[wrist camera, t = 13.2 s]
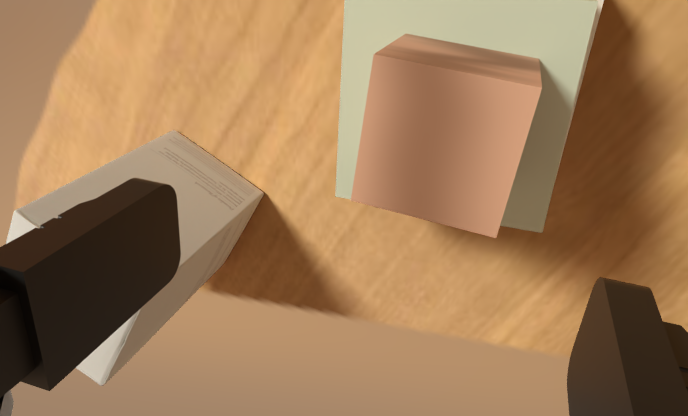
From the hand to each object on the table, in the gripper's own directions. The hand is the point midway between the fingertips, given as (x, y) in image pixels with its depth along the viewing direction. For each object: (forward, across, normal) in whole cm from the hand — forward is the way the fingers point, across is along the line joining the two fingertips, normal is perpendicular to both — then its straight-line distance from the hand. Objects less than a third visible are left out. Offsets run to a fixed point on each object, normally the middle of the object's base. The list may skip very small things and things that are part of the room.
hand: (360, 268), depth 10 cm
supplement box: (+21, +16, +11) cm, 28 cm away
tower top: (+17, 0, 0) cm, 17 cm away
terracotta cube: (+13, 0, 0) cm, 13 cm away
